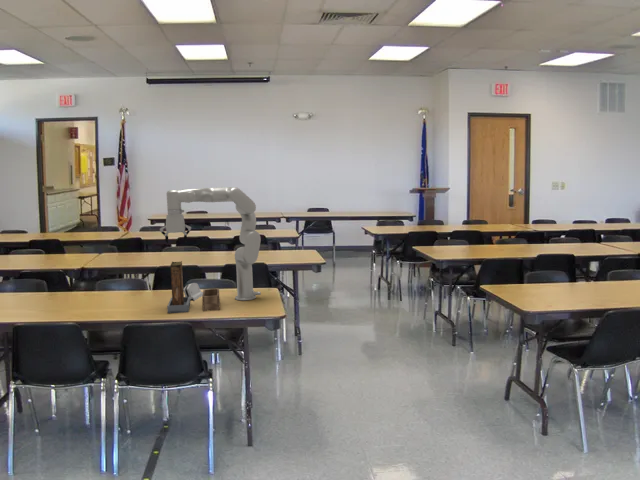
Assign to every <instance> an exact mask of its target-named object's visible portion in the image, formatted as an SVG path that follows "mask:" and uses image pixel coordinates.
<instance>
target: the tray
mask: <svg viewBox="0 0 640 480" xmlns="http://www.w3.org/2000/svg"><path fill="white" fill-rule="evenodd" d="M190 307H191V299H190V297H185V296H184V305H174V306H173V303H172V297H170V299H169V301H168V304H167V308H166V309H167V314H181V313H182V314H183V313H189V310H190Z"/></svg>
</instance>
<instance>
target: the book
mask: <svg viewBox="0 0 640 480" xmlns="http://www.w3.org/2000/svg"><path fill="white" fill-rule="evenodd" d="M170 282H171V298H172V303H173V306H174V305H184V297H185V294H184V291H183V290H184V277H183V261H182V260H181V261H171V263H170Z"/></svg>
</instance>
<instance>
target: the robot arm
mask: <svg viewBox="0 0 640 480" xmlns="http://www.w3.org/2000/svg"><path fill="white" fill-rule="evenodd" d="M194 202H196V203H198V202H199V203H225V202H226V203H227V202H228V203H229V202H232V203H234V204H235V210H236V212H238V213H239V215H240V217H241V226H240V232H239V237H238V238H239V242H240V243H241V244H243V245H244V246H241V247H238V248H237V249H236V250H235V251H234V262H235V267H236V268H235V269H236V288H237V289H236V291H237V294H236V295H235V298H234V299H235V300H236V301H251V300H252V301H253V300H255V299H256V298H257V297H256V296H261V295H262V293H261V291H255V290H254V281H253V279H254V278H253V265H254V264H255V263H256V262H257V260H258V258H259V253H260V247H261V239H262V237H261V235H260V233H259V232H258V231H257V230H256V227H257V226H256V225H257V217H256V213H255V212H256V209H257V205H256V203H255V202H254V200H253V199H252V198H250V197H249V196H248V195H247V194H246V193H245V192H243V190H242V189H240V188H238V187H234V186H226V187H225V186H224V187H223V186H221V187H203V188H190V189H189V188H185V189H183V188H182V189H180V190H178V189H172V190H170V189H169V190H167V191H166V208H167V214H166V218H165V225H164V226H162V227H160V228H159V231H160V233H161V234H162V235H163V236H164V239H165V243H166V244H169V234H172V233H173V234H174V233H175V234H176V233H183V241H184V243H187V242H188V236H187V235H188V234H189V233H190V232H191V230H192V227H191V226H190V225H187V224H185V223H186V222H185V218H184V217H185V216H184V214H183V213H185V210H184V209H182V203H185V204H186V203H188V204H190V203H194ZM186 228H187V229H188V230H187V231H186ZM164 229H165V231H166V232H165V231H164Z"/></svg>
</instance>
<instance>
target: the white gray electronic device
mask: <svg viewBox="0 0 640 480" xmlns="http://www.w3.org/2000/svg"><path fill="white" fill-rule="evenodd" d="M183 292H184V297H190V300H193V301H194V302H195V301H197V300H198V299H199V297H200V298H202V296H203V291H201V289H200V285H199V284H198V283H197V282H192V283H189V284H187V285H185V287H183Z"/></svg>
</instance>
